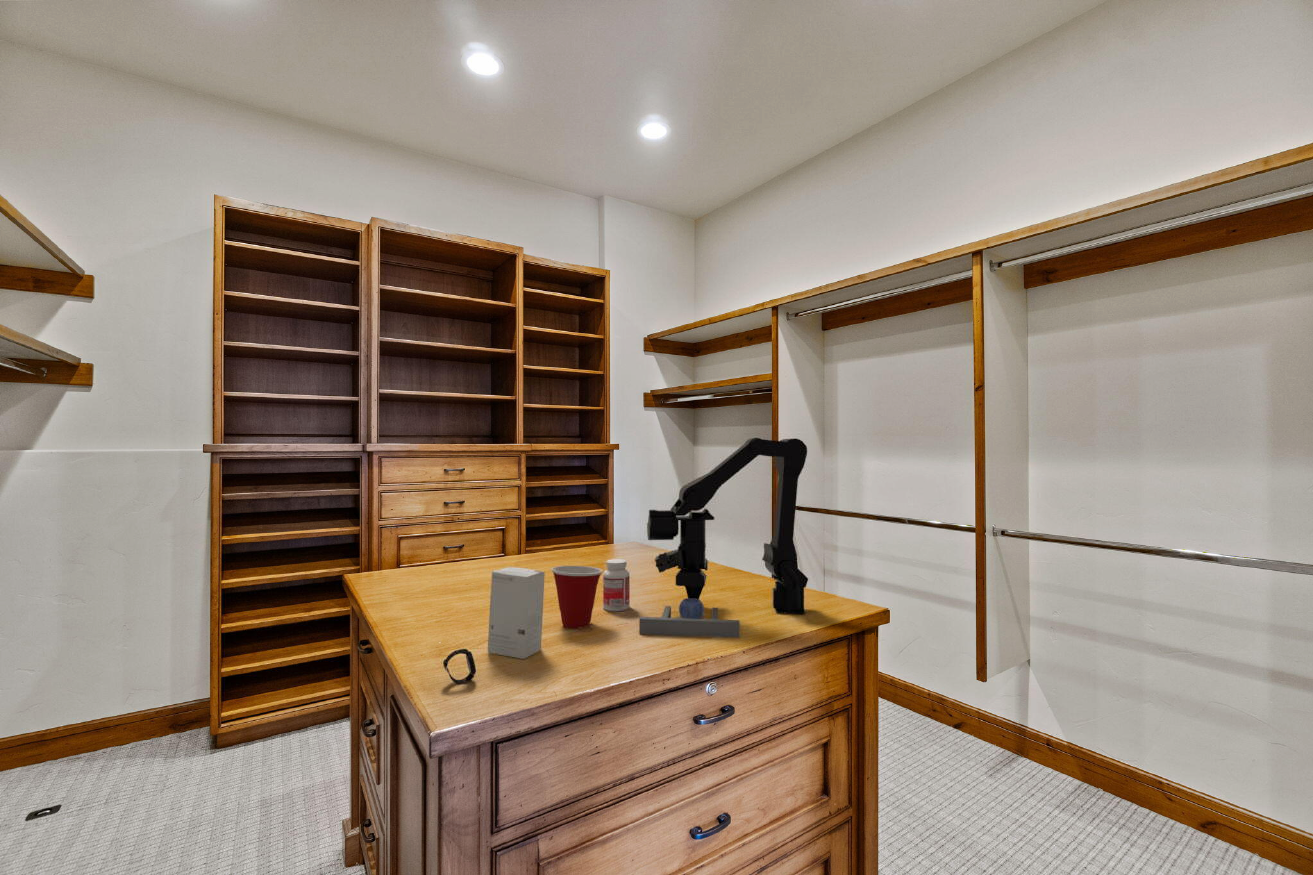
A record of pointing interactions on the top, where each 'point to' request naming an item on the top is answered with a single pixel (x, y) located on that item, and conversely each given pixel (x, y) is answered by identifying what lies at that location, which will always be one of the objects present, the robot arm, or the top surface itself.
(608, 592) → the pill bottle
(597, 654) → the top surface
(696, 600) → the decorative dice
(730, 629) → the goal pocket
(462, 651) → the smartwatch
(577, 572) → the plastic cup
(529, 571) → the skincare box
